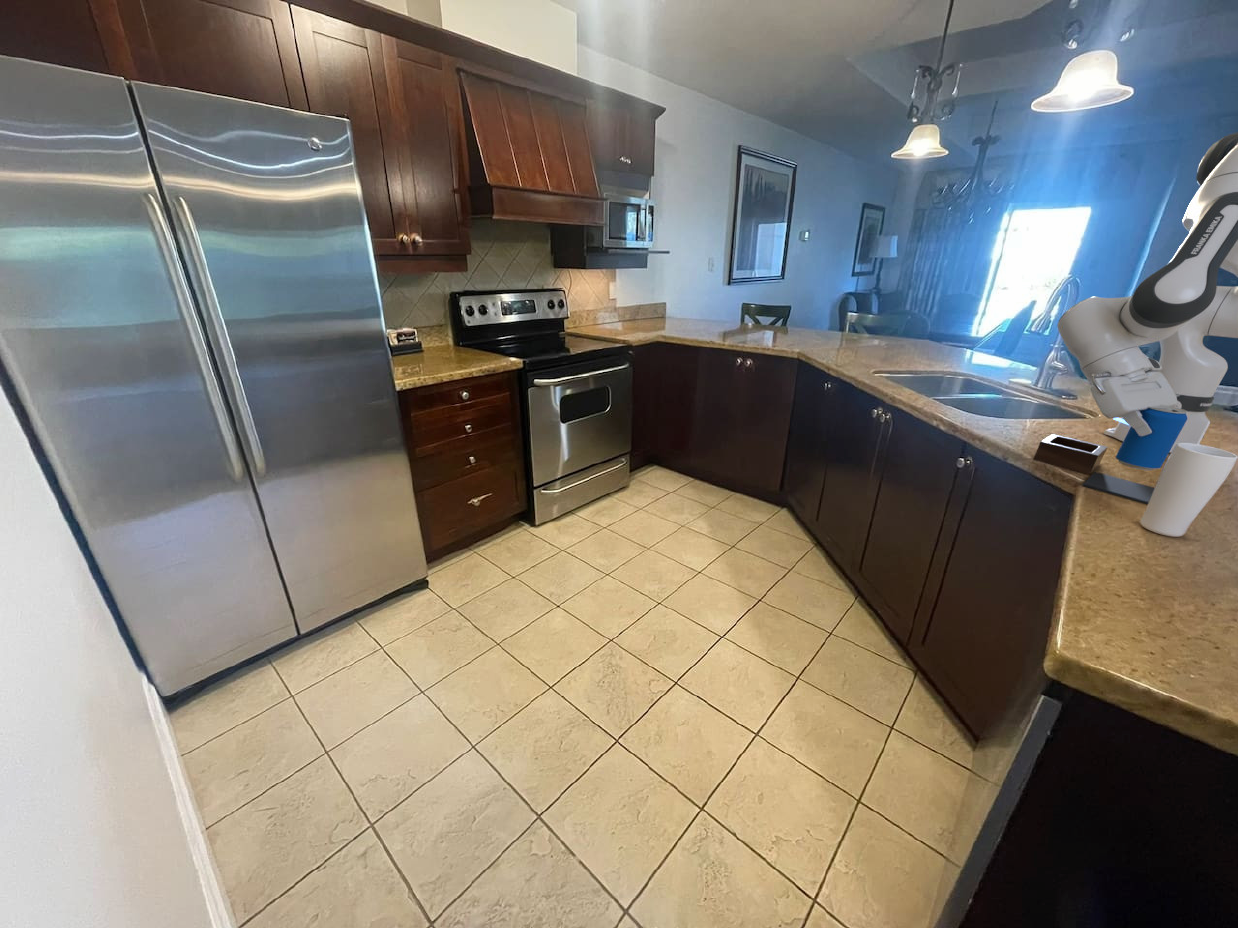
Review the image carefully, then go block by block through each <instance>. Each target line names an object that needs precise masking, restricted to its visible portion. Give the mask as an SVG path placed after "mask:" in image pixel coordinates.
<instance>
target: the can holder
mask: <svg viewBox="0 0 1238 928" xmlns="http://www.w3.org/2000/svg"><path fill="white" fill-rule="evenodd" d="M1107 450H1108V446H1106V445H1102V444H1098V443H1093V442H1090V441H1085V440H1080V439H1076V438H1072V437H1067V436H1063V435H1060V434H1059V435H1058V434H1054V433H1052V434H1049V435H1048V436H1047V437H1045V438H1044V439H1042V440H1041V441H1040V442H1039V445H1038V446H1037V448H1036V451H1035V454H1034V455H1033V459H1032V460H1035V461H1038V462H1041V463H1045V464H1049V465H1051V466H1052V465H1053V466H1057V467H1059V468H1064V469H1067V470H1071V471H1075V472H1077V473H1078V472H1079V473H1082V474H1086V475H1091V473H1093V472H1094V471H1095V469H1096V468H1097V467H1099V466H1100V464H1101V462H1102V460H1103V457H1104V456H1105V453H1106V451H1107Z"/></svg>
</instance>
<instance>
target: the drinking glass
mask: <svg viewBox="0 0 1238 928" xmlns="http://www.w3.org/2000/svg"><path fill="white" fill-rule="evenodd" d="M1200 444H1201V443H1200ZM1200 444H1193V443H1178V444H1176V446H1175V447H1174V449H1173V451H1172V452H1171V453H1169V454H1168V456H1167V458H1166V460H1165V462H1164V464H1163V466H1162V469H1161V472H1160V474H1159V476H1158V478H1157V481H1156V483H1155V486H1154V491H1153V493H1152V496H1151V498H1150V501H1149V503H1148V504H1146V505H1147V506H1146V508H1145V510H1144V512H1143V514H1142V516H1141V518H1140V520H1139V524H1140V525H1141V527H1143V528H1144V529H1146V530H1148V531H1150V532H1152V533H1155V534H1158V535H1162V536H1166V537H1173V538H1179V537H1182V536H1184V535H1185V534H1186V532H1187V531H1188V529H1189V527H1190V526H1191V525H1192V523H1193V522H1194V521H1195V519H1196V518H1197V517H1198V516H1199V514H1200V513H1201V511H1202V510H1203V509H1204V508H1205V507H1206V505H1207V504H1208V503H1209V501H1210V500H1211V499H1212V497H1214V495H1215V494H1216V493H1217V491H1218V490H1219V489H1220V488H1221V486H1222V485H1223V484H1224V482H1225V481H1226V479H1227V478H1228V477H1229V475H1230V473H1231V471H1232V470H1233V468H1234V466H1235V464H1236V462H1237V460H1238V455H1237V454H1236V453H1233V452H1231V451H1228V450H1225V449H1223V448H1219V447H1214V446H1209V445H1205V444H1201V445H1200Z"/></svg>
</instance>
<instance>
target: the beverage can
mask: <svg viewBox="0 0 1238 928" xmlns="http://www.w3.org/2000/svg"><path fill="white" fill-rule="evenodd" d="M1187 412H1188V411H1186V410H1183V409H1180V408H1175V407H1170V406H1165V405H1160V406H1158V407H1149V406H1148V409H1146V410H1140V413H1141V414H1142V416H1141V417H1142V418H1143V419H1144V420H1145V421H1146V423H1147V424H1150V425H1151V426H1152V428H1153V429H1154V433H1152V434H1149V435H1146V436H1139V435H1138V433H1137V432H1136V430H1135V429H1134V428H1132V427H1130V429H1129V431H1128V433H1127V435H1126V437H1125V439H1124V441H1122V443H1121V445H1120V447H1119V449H1118V451H1117V453H1116V455H1115V459H1116V460H1117V461H1118V463H1119V464H1120V465H1122V466H1125V467H1128V468H1131V469H1135V470H1140V471H1141V470H1142V471H1146V472H1147V471H1155V470H1159V469H1161V468H1162V467H1163V465H1164V464H1165V462H1166V460H1167V458H1168V456H1169V455H1170V450H1171V448H1172V446H1173V444H1174V443H1175V441H1176V439H1177V437H1178V435H1179V434H1180V432H1181V430H1182V428H1183V426H1184V425H1185V423H1186V421H1187V419H1188V418H1187V415H1186V413H1187Z"/></svg>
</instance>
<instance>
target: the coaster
mask: <svg viewBox="0 0 1238 928" xmlns="http://www.w3.org/2000/svg"><path fill="white" fill-rule="evenodd" d="M1081 486H1082V487H1085V488H1087V489H1088V488H1089V489H1093V490H1096V491H1100V492H1103V493H1107V494H1110V495H1114V496H1116V497H1120V498H1124V499H1127V500H1131V501H1134V502H1138V503H1141V504H1145V505H1148V503H1149V501H1150V498H1151V496H1152V493H1153V491H1154V488H1155V486H1154V487H1153V486H1151V485H1146V484H1143V483H1139V482H1135V481H1131V480H1127V479H1123V478H1119V477H1116V476H1112V475H1109V474H1104V473H1101V472H1098V471H1097V472H1096V471H1093V472H1092V474H1090V476H1089V477H1088V478H1087V480H1085V481H1084V482H1083V483H1082V485H1081Z"/></svg>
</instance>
